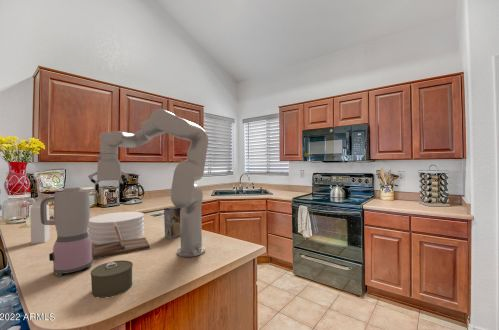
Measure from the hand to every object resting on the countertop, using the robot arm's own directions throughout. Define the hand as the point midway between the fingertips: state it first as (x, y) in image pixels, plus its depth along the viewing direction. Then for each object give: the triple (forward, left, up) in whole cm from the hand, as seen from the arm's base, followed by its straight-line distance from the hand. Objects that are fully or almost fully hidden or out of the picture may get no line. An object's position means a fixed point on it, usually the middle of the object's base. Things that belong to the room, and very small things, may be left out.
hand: (109, 192), depth 117 cm
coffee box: (+2, -32, -28) cm, 42 cm away
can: (-46, 0, -28) cm, 53 cm away
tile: (-5, -3, -21) cm, 21 cm away
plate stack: (+20, -4, -28) cm, 35 cm away
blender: (-21, +14, -28) cm, 38 cm away
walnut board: (-5, -5, -28) cm, 28 cm away
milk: (+33, +32, -28) cm, 54 cm away
